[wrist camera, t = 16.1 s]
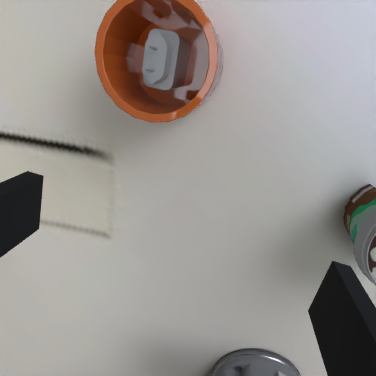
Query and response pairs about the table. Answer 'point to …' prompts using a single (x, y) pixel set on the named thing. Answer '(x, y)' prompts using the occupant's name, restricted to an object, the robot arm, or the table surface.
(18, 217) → the robot arm
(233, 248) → the table surface
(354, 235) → the food container
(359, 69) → the table surface
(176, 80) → the power adapter
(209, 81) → the orange flower pot
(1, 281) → the table surface
